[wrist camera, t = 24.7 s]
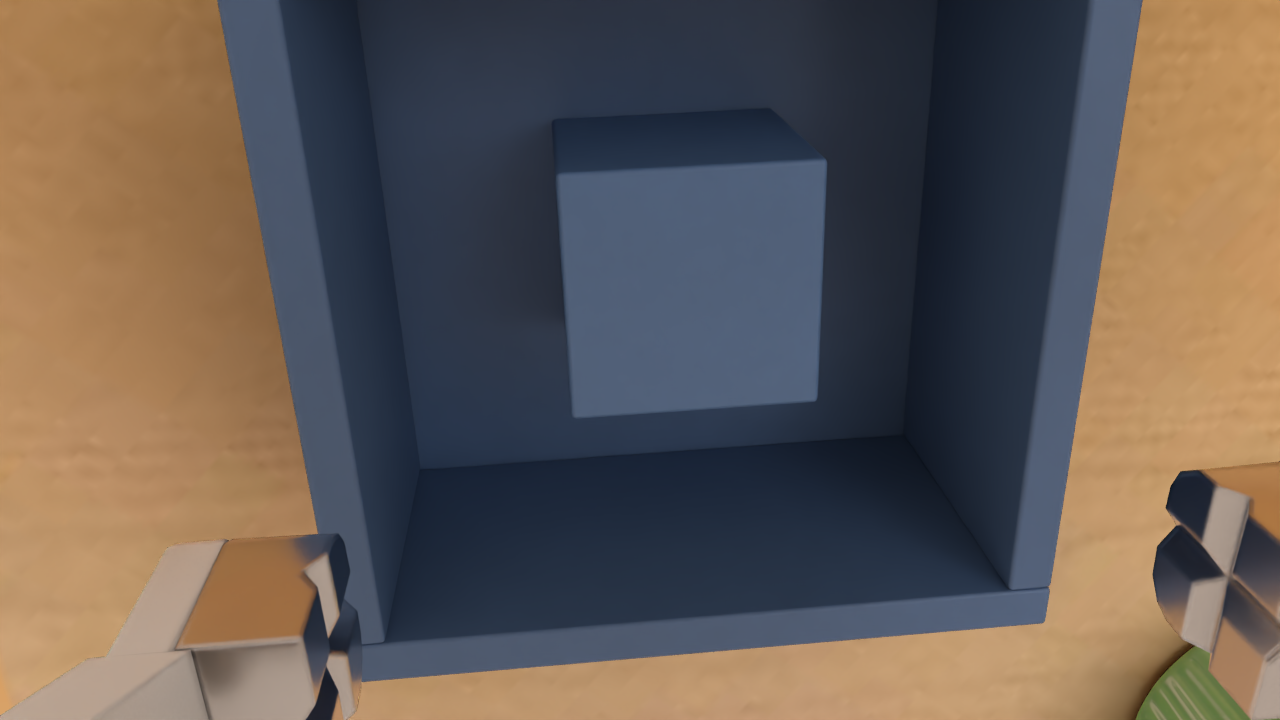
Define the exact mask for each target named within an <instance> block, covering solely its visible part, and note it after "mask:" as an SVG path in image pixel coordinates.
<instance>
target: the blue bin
mask: <svg viewBox="0 0 1280 720" xmlns="http://www.w3.org/2000/svg"><path fill="white" fill-rule="evenodd" d="M217 2H218V7H219V12H220V17H221V23H222V28H223V33H224V39H225V44H226V49H227V54H228V60H229V65H230V70H231V76H232V81H233V86H234V92H235V97H236V102H237V107H238V113H239V118H240V123H241V129H242V134H243V139H244V144H245V150H246V155H247V160H248V166H249V171H250V176H251V181H252V187H253V192H254V197H255V203H256V208H257V213H258V219H259V224H260V229H261V234H262V240H263V245H264V250H265V256H266V261H267V266H268V271H269V277H270V282H271V287H272V293H273V298H274V303H275V309H276V314H277V319H278V324H279V330H280V335H281V340H282V346H283V351H284V356H285V361H286V367H287V372H288V377H289V383H290V388H291V393H292V398H293V404H294V409H295V414H296V420H297V425H298V430H299V436H300V441H301V446H302V451H303V457H304V462H305V467H306V473H307V478H308V483H309V488H310V494H311V499H312V504H313V510H314V515H315V520H316V525H317V531H318V534H332V533H339V535H340V536H341V538H342V539H343V541H344V543H345V547H346V552H347V557H348V562H349V567H350V576H349V580H348V584H347V588H346V592H345V596H344V599H345V600H346V601H347V602H348V603H350V604H351V605H352V606H353V607H354V608H355V609H356V610H357V611H358V618H359V624H360V630H361V641H362V655H363V660H362V679H361V682H367V681H379V680H391V679H402V678H414V677H425V676H437V675H449V674H460V673H472V672H483V671H495V670H507V669H518V668H530V667H541V666H553V665H565V664H576V663H588V662H599V661H611V660H623V659H634V658H646V657H657V656H669V655H681V654H692V653H704V652H715V651H727V650H739V649H750V648H762V647H773V646H785V645H796V644H808V643H820V642H831V641H843V640H854V639H866V638H878V637H889V636H901V635H912V634H924V633H936V632H947V631H959V630H970V629H982V628H994V627H1005V626H1017V625H1028V624H1040V623H1044V621H1045V617H1046V611H1047V605H1048V598H1049V592H1050V591H1049V587H1048V586H1049V585H1050V583H1051V577H1052V571H1053V564H1054V558H1055V552H1056V545H1057V539H1058V533H1059V526H1060V520H1061V514H1062V507H1063V501H1064V495H1065V488H1066V482H1067V476H1068V469H1069V463H1070V457H1071V450H1072V444H1073V438H1074V431H1075V425H1076V419H1077V412H1078V406H1079V400H1080V393H1081V387H1082V381H1083V374H1084V368H1085V362H1086V355H1087V349H1088V343H1089V336H1090V330H1091V324H1092V317H1093V311H1094V305H1095V298H1096V292H1097V286H1098V279H1099V273H1100V267H1101V260H1102V254H1103V247H1104V241H1105V235H1106V228H1107V222H1108V216H1109V209H1110V203H1111V197H1112V190H1113V184H1114V178H1115V171H1116V165H1117V159H1118V152H1119V146H1120V140H1121V133H1122V127H1123V121H1124V114H1125V108H1126V102H1127V95H1128V89H1129V83H1130V76H1131V70H1132V64H1133V57H1134V51H1135V45H1136V38H1137V32H1138V26H1139V19H1140V13H1141V7H1142V0H217ZM766 108H770V109H772V110H773V111H774V112H776V113H777V114H778V115H779V116H780V117H781V118H782V119H783V120H784V121H785V122H786V123H787V124H789V125H790V126H791V127H792V128H793V129H794V130H795V131H796V132H797V133H798V134H799V135H800V136H802V137H803V138H804V139H805V140H806V141H807V142H808V143H809V144H810V145H811V146H812V147H813V148H815V149H816V150H817V151H818V152H819V153H820V154H821V155H822V156H823V157H824V158H825V159H826V161H827V184H826V208H825V232H824V257H823V281H822V305H821V329H820V353H819V377H818V397H817V400H816V401H814V402H803V403H789V404H775V405H761V406H747V407H733V408H719V409H705V410H690V411H676V412H662V413H648V414H634V415H620V416H606V417H592V418H578V419H576V418H573V417H572V415H571V407H570V392H569V377H568V362H567V348H566V333H565V318H564V303H563V289H562V274H561V259H560V244H559V230H558V215H557V200H556V185H555V170H554V154H553V139H552V122H553V120H556V119H570V118H590V117H610V116H629V115H649V114H668V113H688V112H707V111H727V110H746V109H766Z"/></svg>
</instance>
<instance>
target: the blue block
mask: <svg viewBox="0 0 1280 720" xmlns="http://www.w3.org/2000/svg"><path fill="white" fill-rule="evenodd" d="M552 139H553V154H554V170H555V185H556V200H557V215H558V230H559V244H560V259H561V274H562V289H563V303H564V318H565V333H566V348H567V362H568V377H569V392H570V407H571V415H572V417H573V418H576V419H578V418H592V417H606V416H620V415H634V414H648V413H662V412H676V411H690V410H705V409H719V408H733V407H747V406H761V405H775V404H789V403H803V402H814V401H816V400H817V397H818V377H819V353H820V329H821V305H822V281H823V257H824V232H825V208H826V184H827V161H826V159H825V158H824V157H823V156H822V155H821V154H820V153H819V152H818V151H817V150H816V149H815V148H813V147H812V146H811V145H810V144H809V143H808V142H807V141H806V140H805V139H804V138H803V137H802V136H800V135H799V134H798V133H797V132H796V131H795V130H794V129H793V128H792V127H791V126H790V125H789V124H787V123H786V122H785V121H784V120H783V119H782V118H781V117H780V116H779V115H778V114H777V113H776V112H774V111H773V110H772V109H770V108H766V109H746V110H727V111H707V112H688V113H668V114H649V115H629V116H610V117H590V118H570V119H556V120H553V122H552Z"/></svg>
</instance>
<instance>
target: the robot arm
mask: <svg viewBox="0 0 1280 720" xmlns="http://www.w3.org/2000/svg"><path fill="white" fill-rule="evenodd" d="M1166 509H1167V511H1168V513H1169V514H1170V516H1171V518H1172V519H1173V521H1174V522H1175V524H1176V527H1175V528H1174V529H1173V530H1172V531H1171V532H1170V533H1169V534H1168V535H1167V536H1166V537H1165V538H1164V539H1163V541H1162V542H1161V543H1160V544H1159V545H1158V546H1157V552H1156V558H1155V563H1154V569H1153V579H1154V585H1155V591H1156V597H1157V602H1158V604H1159V606H1160V608H1161V610H1162V612H1163V614H1164V616H1165V619H1166V621H1167V622H1168V623H1169V624H1170V626H1171V627H1172V628H1173V629H1174V631H1175V632H1176V633H1177V634H1178V635H1179V637H1180V638H1181V639H1183V640H1185V641H1187V642H1189V643H1191V644H1193V645H1195V646H1197V647H1199V648H1201V649H1203V650H1205V651H1207V652H1209V653H1210V660H1209V669H1208V671H1209V672H1210V673H1211V674H1212V675H1213V676H1214V678H1215V679H1216V680H1217V681H1218V682H1219V683H1220V684H1221V686H1222V687H1223V688H1224V689H1225V690H1226V691H1227V693H1228V694H1229V695H1230V696H1231V697H1232V698H1233V699H1234V701H1235V702H1236V703H1237V704H1238V705H1239V706H1240V708H1241V709H1242V710H1243V711H1244V712H1245V713H1246V714H1247V716H1248V717H1249V718H1250V719H1251V720H1264V719H1279V718H1280V461H1279V462H1272V463H1262V464H1252V465H1241V466H1231V467H1221V468H1210V469H1200V470H1190V471H1180V473H1179V474H1178V476H1177V477H1176V479H1175V480H1174V482H1173V484H1172V485H1171V487H1170V492H1169V496H1168V500H1167V505H1166ZM349 576H350V567H349V562H348V557H347V552H346V547H345V543H344V541H343V539H342V538H341V536H340V535H339V533H332V534H314V535H296V536H278V537H260V538H242V539H232V540H230V541H229V540H226V539H219V540H208V541H196V542H185V543H176V544H174V545H172V546H170V547H167V549H166V550H165V551H164V552H163V554H162V556H161V558H160V560H159V561H158V563H157V565H156V567H155V569H154V570H153V572H152V574H151V576H150V578H149V579H148V581H147V583H146V585H145V587H144V588H143V590H142V592H141V594H140V596H139V597H138V599H137V601H136V603H135V605H134V606H133V608H132V610H131V612H130V614H129V615H128V617H127V619H126V621H125V623H124V624H123V626H122V628H121V630H120V632H119V633H118V635H117V637H116V639H115V641H114V642H113V644H112V646H111V648H110V650H109V651H108V653H107V655H106V657H97V658H88V659H86V660H84V661H83V662H81V663H80V664H78V665H77V666H75V667H74V668H72V669H71V670H69V671H68V672H66V673H65V674H63V675H61V676H60V677H58V678H57V679H55V680H54V681H52V682H51V683H49V684H48V685H46V686H45V687H43V688H41V689H40V690H38V691H37V692H35V693H34V694H32V695H31V696H29V697H28V698H26V699H25V700H23V701H22V702H20V703H18V704H17V705H15V706H14V707H12V708H11V709H9V710H8V711H6V712H5V713H3V714H2V715H0V720H348V719H349V718H350V717H351V716H352V715H353V714H354V713H355V712H356V711H357V706H358V701H359V696H360V691H361V679H362V660H363V655H362V641H361V630H360V624H359V618H358V611H357V610H356V609H355V608H354V607H353V606H352V605H351V604H350V603H348V602H347V601H346V600H345V599H344V596H345V592H346V588H347V584H348V580H349Z"/></svg>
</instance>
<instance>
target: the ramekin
mask: <svg viewBox="0 0 1280 720" xmlns="http://www.w3.org/2000/svg"><path fill="white" fill-rule="evenodd" d="M1209 660H1210V653H1209V652H1207V651H1205V650H1203V649H1201V648H1199V647H1197V646H1194V647H1193V648H1192V649H1190V650H1189V651H1188V652H1186V653H1185V654H1184V655H1183V656H1182V657H1180V658H1179V659H1178V660H1177V661H1176V662H1175V663H1174V664H1173V665H1172V666H1171V667H1170V668H1169V669H1168V670H1167V671H1166V672H1165V673H1164V674H1163V675H1162V676H1161V677H1160V679H1159V680H1158V681H1157V682H1156V683H1155V685H1154V686H1153V688H1152V689H1151V691H1150V692H1149V694H1148V695H1147V697H1146V698H1145V700H1144V702H1143V704H1142V706H1141V708H1140V710H1139V712H1138V714H1137V717H1136V720H1251V719H1250V718H1249V717H1248V716H1247V714H1246V713H1245V712H1244V711H1243V710H1242V709H1241V708H1240V706H1239V705H1238V704H1237V703H1236V702H1235V701H1234V699H1233V698H1232V697H1231V696H1230V695H1229V694H1228V693H1227V691H1226V690H1225V689H1224V688H1223V687H1222V686H1221V684H1220V683H1219V682H1218V681H1217V680H1216V679H1215V678H1214V676H1213V675H1212V674H1211V673H1210V672H1209V671H1208V669H1209ZM1264 720H1280V718H1279V719H1264Z"/></svg>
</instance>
